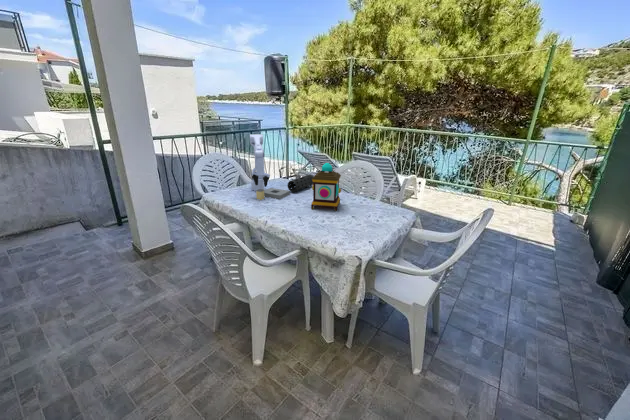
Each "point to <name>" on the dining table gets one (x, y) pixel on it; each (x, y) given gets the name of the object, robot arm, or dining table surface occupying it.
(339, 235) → the dining table surface
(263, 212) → the dining table surface
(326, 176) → the decorative lantern
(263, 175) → the robot arm
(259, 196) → the plug
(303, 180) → the muzzle brake
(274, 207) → the dining table surface
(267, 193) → the socket plate
